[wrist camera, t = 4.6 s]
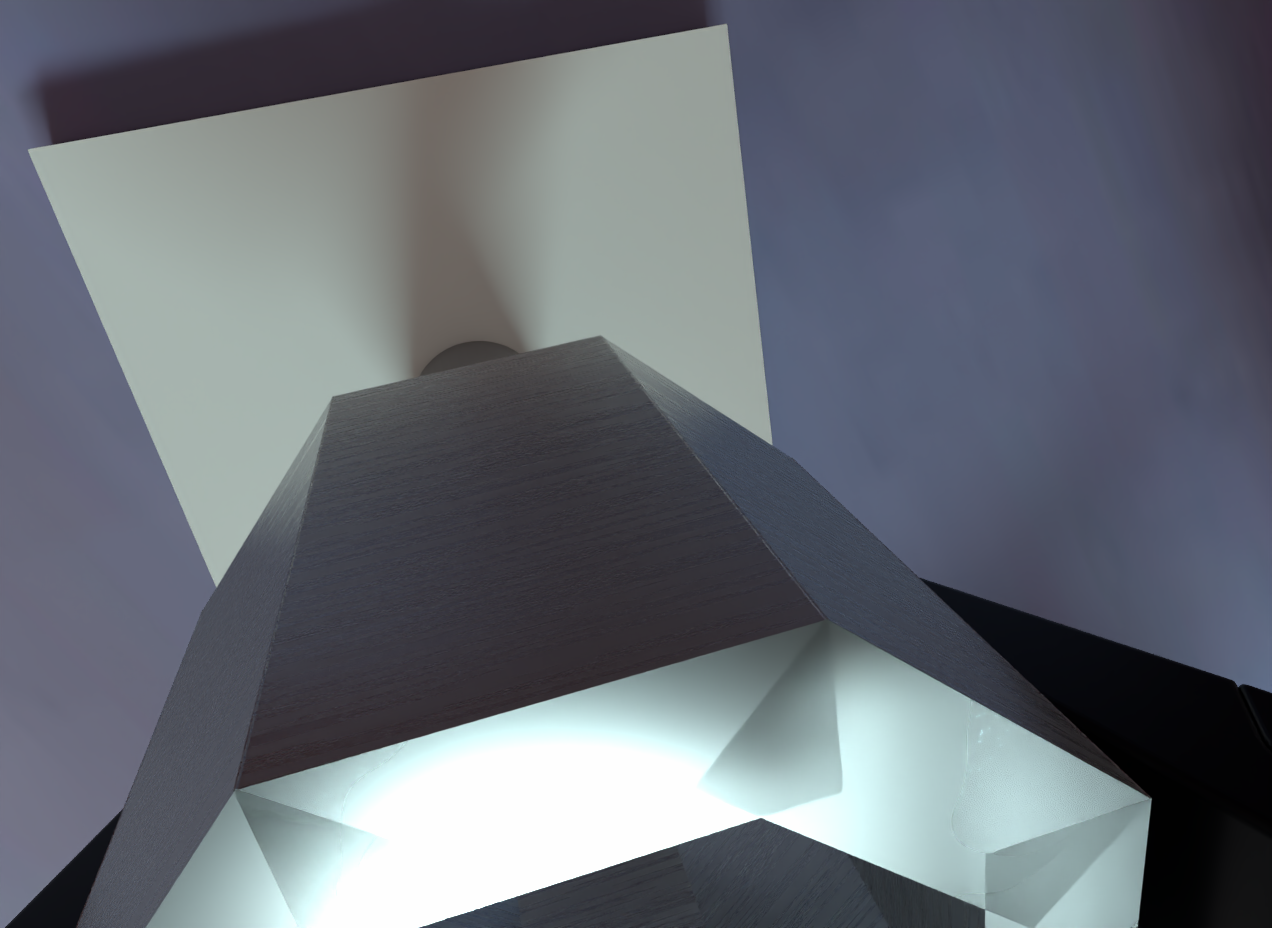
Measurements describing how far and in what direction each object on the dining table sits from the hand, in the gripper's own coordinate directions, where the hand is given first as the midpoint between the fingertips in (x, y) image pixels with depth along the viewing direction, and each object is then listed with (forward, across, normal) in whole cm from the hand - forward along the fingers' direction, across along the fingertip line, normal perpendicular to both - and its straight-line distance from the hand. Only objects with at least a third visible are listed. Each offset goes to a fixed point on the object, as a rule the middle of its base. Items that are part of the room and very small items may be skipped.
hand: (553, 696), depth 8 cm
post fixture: (+10, 0, 0) cm, 10 cm away
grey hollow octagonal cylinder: (+1, 0, 0) cm, 1 cm away
